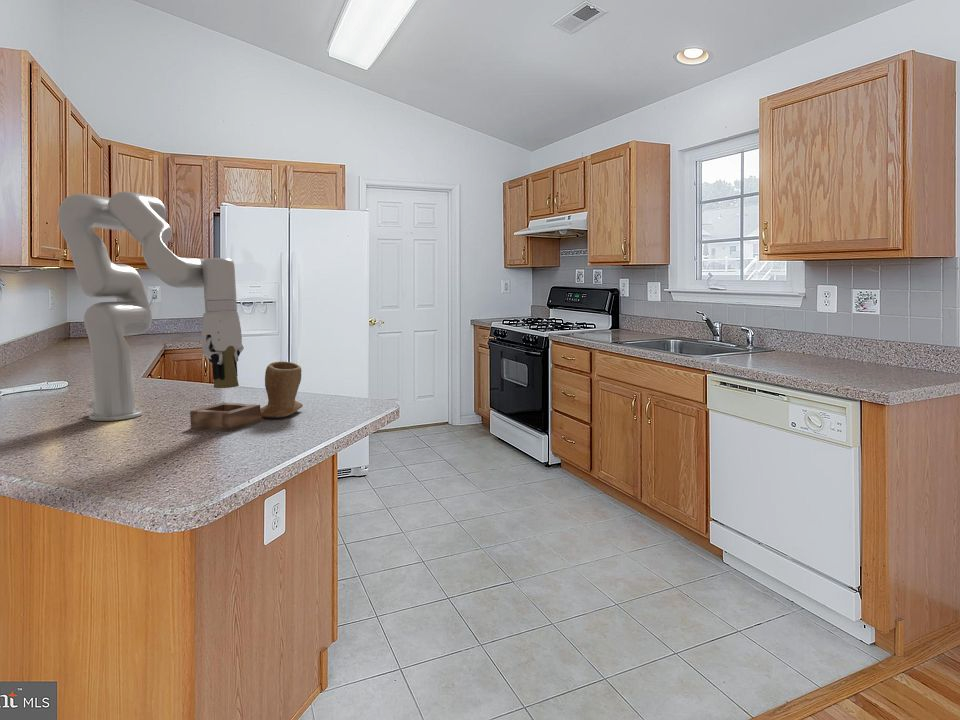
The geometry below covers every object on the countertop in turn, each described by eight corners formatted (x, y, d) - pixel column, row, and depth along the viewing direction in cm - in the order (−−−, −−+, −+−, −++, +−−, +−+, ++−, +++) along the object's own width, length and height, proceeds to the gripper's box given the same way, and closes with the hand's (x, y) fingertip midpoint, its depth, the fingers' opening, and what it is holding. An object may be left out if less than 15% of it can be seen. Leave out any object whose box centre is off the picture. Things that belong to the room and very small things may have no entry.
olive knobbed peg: (229, 388, 156) (227, 345, 154) (208, 387, 157) (205, 345, 156) (243, 384, 162) (241, 342, 160) (222, 384, 163) (220, 342, 161)
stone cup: (292, 421, 165) (290, 365, 163) (250, 420, 166) (248, 365, 164) (313, 410, 180) (312, 359, 178) (274, 409, 181) (272, 358, 179)
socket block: (190, 428, 157) (189, 410, 156) (223, 418, 168) (222, 402, 167) (230, 431, 153) (229, 413, 152) (261, 421, 164) (260, 404, 164)
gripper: (231, 306, 166) (235, 373, 168) (184, 308, 150) (189, 382, 152) (254, 306, 164) (258, 374, 166) (209, 308, 148) (214, 383, 150)
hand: (225, 377), depth 159 cm, fingers closed on olive knobbed peg, 4 cm apart
